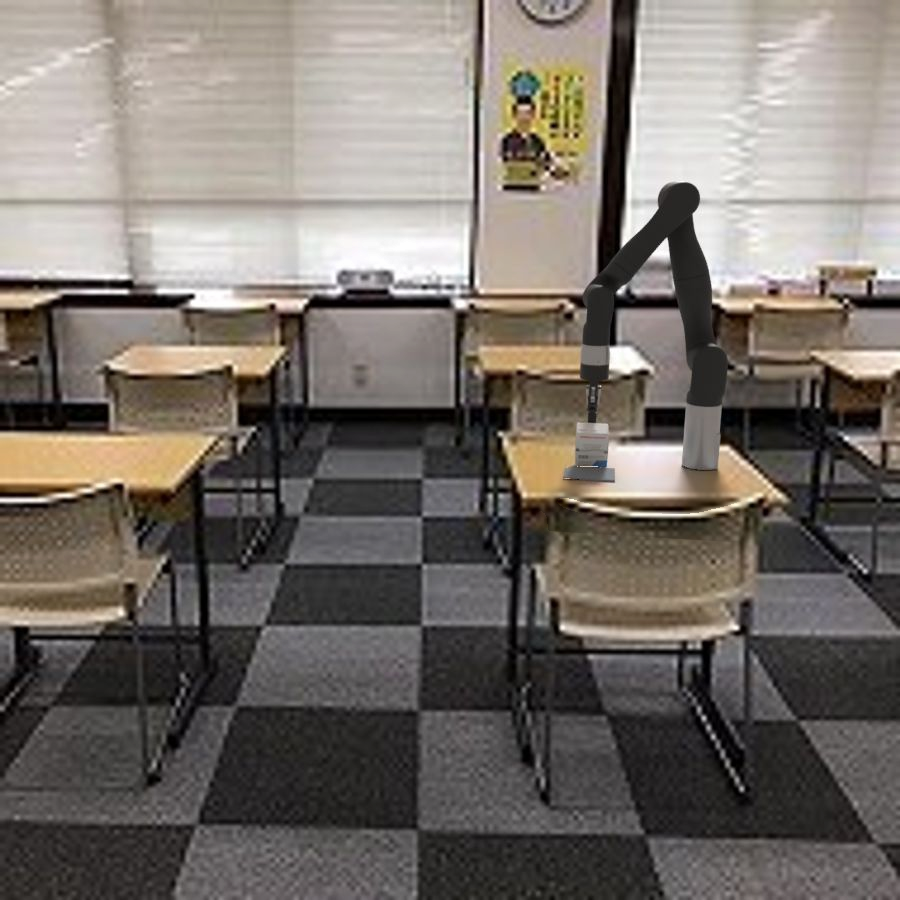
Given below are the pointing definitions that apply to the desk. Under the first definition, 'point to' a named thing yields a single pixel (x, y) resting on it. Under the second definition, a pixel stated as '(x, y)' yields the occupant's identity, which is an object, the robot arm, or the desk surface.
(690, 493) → the desk surface
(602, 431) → the ink box
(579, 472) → the mat
